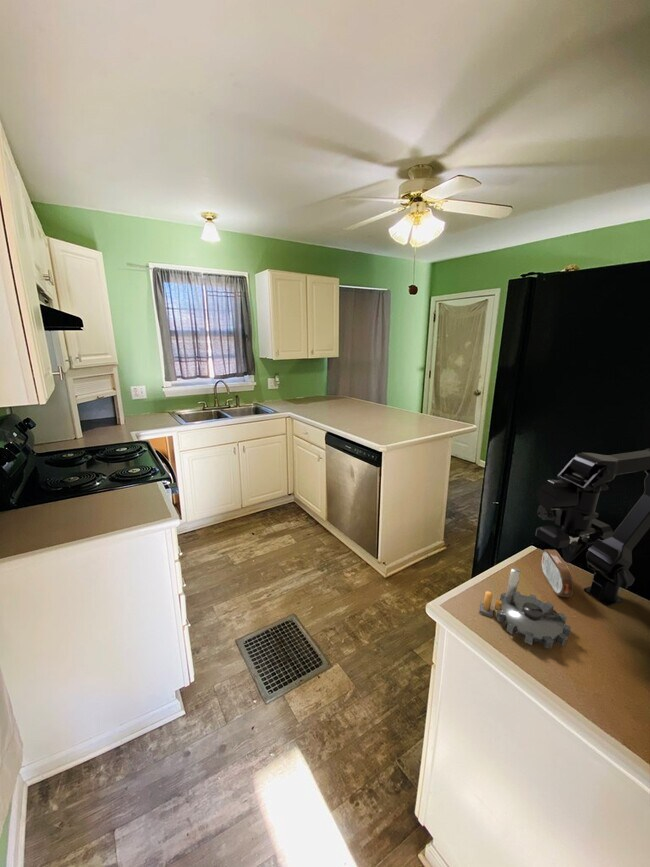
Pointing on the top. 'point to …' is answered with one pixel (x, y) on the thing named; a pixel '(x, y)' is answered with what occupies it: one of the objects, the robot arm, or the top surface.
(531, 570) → the top surface
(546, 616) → the sprocket
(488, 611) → the rounded peg on base
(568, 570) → the tin
